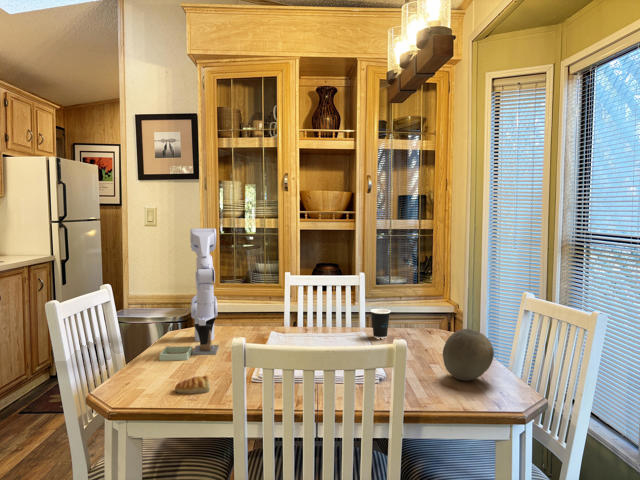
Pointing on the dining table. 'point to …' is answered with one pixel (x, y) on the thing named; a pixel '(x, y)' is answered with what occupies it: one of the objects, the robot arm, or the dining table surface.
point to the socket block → (205, 352)
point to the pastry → (193, 385)
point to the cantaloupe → (467, 354)
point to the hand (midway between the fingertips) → (205, 341)
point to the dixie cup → (380, 322)
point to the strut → (208, 345)
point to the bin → (182, 349)
